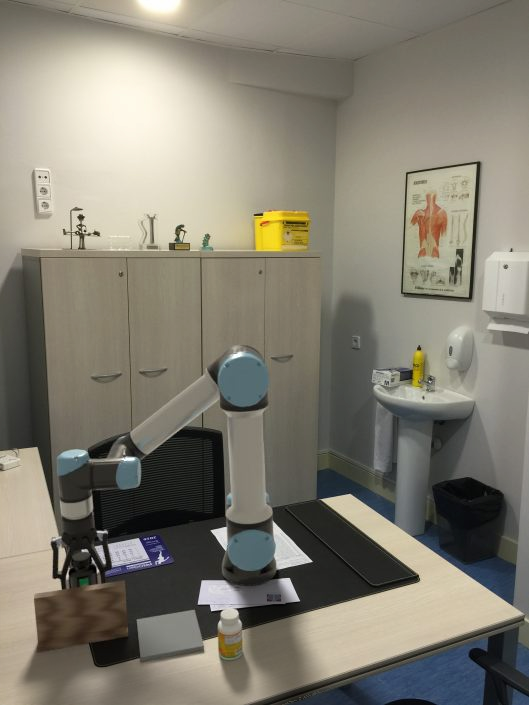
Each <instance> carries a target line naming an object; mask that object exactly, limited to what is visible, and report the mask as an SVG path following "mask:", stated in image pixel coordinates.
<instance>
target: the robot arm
mask: <svg viewBox="0 0 529 705" xmlns="http://www.w3.org/2000/svg"><path fill="white" fill-rule="evenodd" d="M269 384H270V374H269V370H268V367H267V365H266V364H265V360H264V357H263V356H262V354H261V353H260V351H258V350H257V348H255V347H253V346H250V345H248V344H236V345H233V346H231V347H229V348H227V349H226V350H225V351H224V352H223V353H222V354H220V356H219V357H218V358H216V359H215V360H214V361H213V362H211V363H210V365H208V366H207V367H205V371H204V374H203V375H202V376H200V377H199V378H198V379H196V380H195V381H194V382H193V383H192V384H190V385H189V386H187V387H186V388H185V389H184V390H183V391H181V392H180V393H179V394H177V395H176V396H175V397H174V398H172V399H171V400H170V401H168V402H167V403H166V404H165V405H163V406H162V407H161V408H159V409H158V410H157V411H155V412H154V413H153V414H151V415H150V416H149V417H147V419H145V420H144V421H143V422H142V423H140V424H139V425H137V426H136V427H135V428H134V429H132V430H131V431H130V432H129V433H127V434H126V435H124V436H121V437H119V438H117V440H116V441H115V442H113V444H112V446H111V447H110V449H109V450H110V451H109V453H108V454H107V457H106V458H90V456H89V452H88V451H86V450H85V449H69V450H66V451H63V452H61V453H60V454H58V456H57V457H56V476H57V477H56V478H57V484H58V485H57V486H58V494H59V506H60V515H61V525H62V526H61V527H62V534H61V535H60V536H58V537H55V536H53V537H51V539H50V546H51V550H52V576H51V577H52V579H53V580H57V579H59V580H60V586H61V590H63V589H70V585H69V575H68V572H69V569H70V565H71V562H72V561H71V558H72V556H73V555H74V552H77V551H79V550H86V551H87V552H89V553H90V555H91V557H92V561H93V563H94V564H95V565H96V567H97V579H98V584H103V583H107V578H106V576H107V574H106V572H107V571H111V570H112V569H113V562H112V557H111V553H110V547H109V542H108V537H109V530H108V529H103V530H98V529H97V528H96V527H95V514H94V511H93V510H94V503H93V493H92V491H108V490H109V491H110V490H122V491H123V490H128V489H135V488H138V487H139V486H140V484H141V478H142V464H141V461H142V460H143V459H144V458H146V457H147V456H148V455H149V454H151V453H152V452H153V451H155V450H156V449H157V448H159V447H160V446H161V445H162V444H163V443H165V442H166V441H167V440H168V439H171V437H173V436H174V435H175V434H177V432H179V431H180V430H181V429H183V428H184V427H186V426H187V425H188V424H189V423H191V422H192V421H193V420H195V419H196V418H197V417H198V416H200V415H201V414H202V413H204V412H205V411H206V410H207V409H209V408H210V407H211V406H213V405H214V404H215V403H216V402H217V401H219V409H220V410H221V411H222V412H224V413H225V414H226V422H227V440H228V462H229V463H228V464H229V479H230V480H229V481H230V482H229V484H230V492H229V493H228V494H227V496H226V503H225V505H226V511H225V517H226V518H225V521H226V539H227V540H226V542H227V545H226V549H225V552H224V556H223V559H222V562H221V574H222V576H223V578H225V579H226V581H228V582H230V583H232V584H236V585H240V586H256V585H261V584H265V583H267V582H269V581H270V580H272V579H273V577H275V575H276V574H277V561H276V558H275V554H276V553H275V552H276V548H277V547H276V546H277V544H276V541H275V539H274V538H275V536H274V517H273V515H274V514H273V508H272V507H271V506H270V504H271V501H270V495H269V493H267V491H266V489H267V488H266V471H265V470H266V469H265V468H266V466H265V463H266V462H265V443H264V442H265V441H264V419H263V418H264V417H263V413H264V411H265V410H267V409H268V408H269ZM97 537H98V540H99V541H101V546H102V550H103V554H104V555H103V556H104V560H105V561H103V559H102V557H101V556H100V555H99V554H100V553H98V550H97V549H96V547H95V544H94V542H95V540H96V538H97ZM62 542H63V543H64V544H65V545H66V546H67V552H66V555H65V558H64V561H63V565H62V568H61V570H59V559H60V557H59V556H60V555H59V554H60V547H61V544H62ZM104 562H105V563H104Z"/></svg>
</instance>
